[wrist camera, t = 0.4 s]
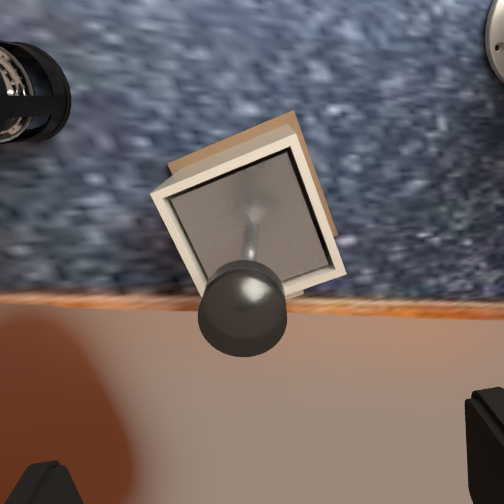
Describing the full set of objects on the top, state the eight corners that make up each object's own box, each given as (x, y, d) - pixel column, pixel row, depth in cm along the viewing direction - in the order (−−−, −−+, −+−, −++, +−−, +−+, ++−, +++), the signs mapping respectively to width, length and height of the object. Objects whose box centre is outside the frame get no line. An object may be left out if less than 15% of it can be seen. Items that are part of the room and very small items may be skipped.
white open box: (293, 109, 42) (304, 114, 30) (337, 235, 46) (363, 284, 34) (169, 162, 44) (132, 186, 32) (223, 277, 49) (209, 337, 36)
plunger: (286, 151, 32) (302, 191, 18) (327, 260, 35) (367, 367, 21) (172, 197, 34) (107, 267, 20) (221, 298, 37) (194, 421, 23)
